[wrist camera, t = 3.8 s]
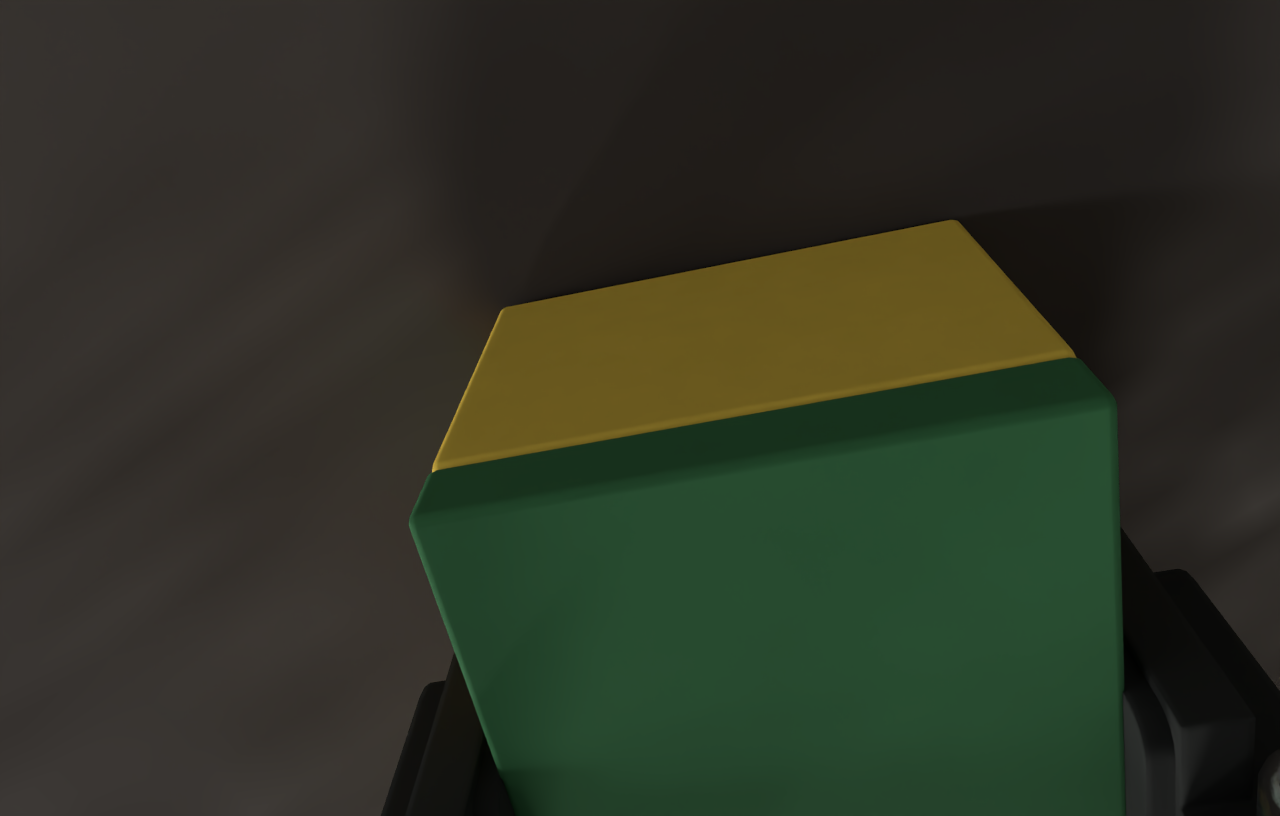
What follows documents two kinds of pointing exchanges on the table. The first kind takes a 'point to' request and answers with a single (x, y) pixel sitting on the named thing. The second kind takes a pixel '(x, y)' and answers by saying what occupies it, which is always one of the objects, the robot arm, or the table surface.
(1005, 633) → the sponge
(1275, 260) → the table surface
